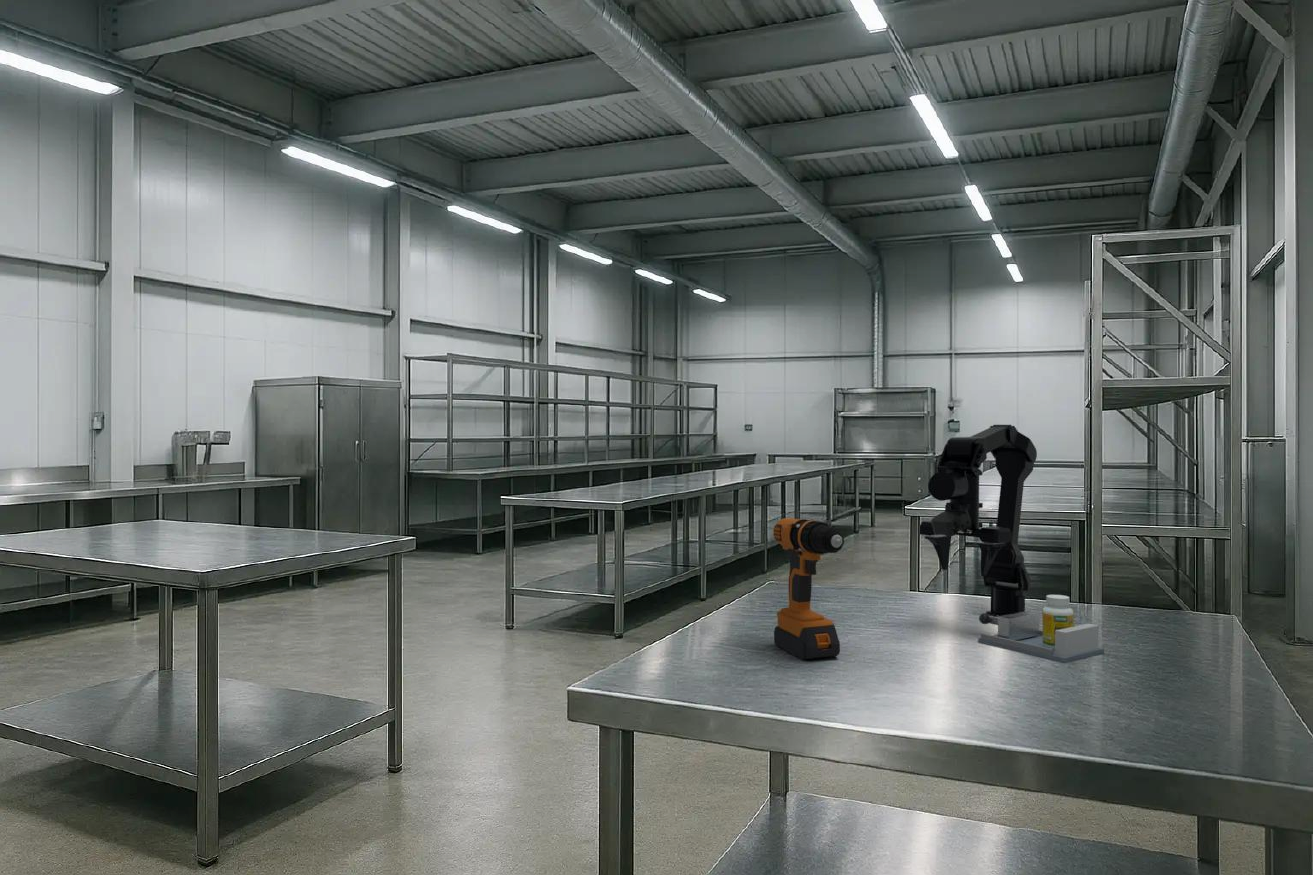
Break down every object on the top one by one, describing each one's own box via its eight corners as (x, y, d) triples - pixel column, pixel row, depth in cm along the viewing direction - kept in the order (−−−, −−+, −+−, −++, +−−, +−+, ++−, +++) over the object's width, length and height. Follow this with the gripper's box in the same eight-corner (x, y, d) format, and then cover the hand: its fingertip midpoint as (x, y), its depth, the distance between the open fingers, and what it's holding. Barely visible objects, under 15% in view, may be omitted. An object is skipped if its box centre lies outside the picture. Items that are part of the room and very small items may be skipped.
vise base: (978, 642, 173) (978, 615, 173) (1017, 633, 180) (1018, 608, 180) (1064, 662, 158) (1064, 633, 158) (1104, 652, 166) (1104, 625, 166)
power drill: (860, 668, 154) (862, 525, 153) (823, 671, 151) (824, 526, 151) (802, 639, 174) (803, 513, 174) (768, 642, 172) (769, 514, 171)
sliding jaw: (964, 631, 178) (964, 609, 178) (994, 625, 183) (995, 604, 183) (1008, 641, 169) (1008, 618, 169) (1039, 635, 175) (1039, 612, 175)
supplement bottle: (1062, 643, 169) (1063, 593, 169) (1079, 650, 164) (1080, 598, 164) (1036, 644, 169) (1036, 594, 169) (1052, 651, 163) (1053, 599, 163)
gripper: (903, 496, 186) (902, 570, 186) (981, 503, 171) (981, 583, 171) (935, 494, 193) (934, 565, 193) (1014, 500, 178) (1013, 577, 178)
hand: (963, 572), depth 184 cm, fingers open, 9 cm apart
